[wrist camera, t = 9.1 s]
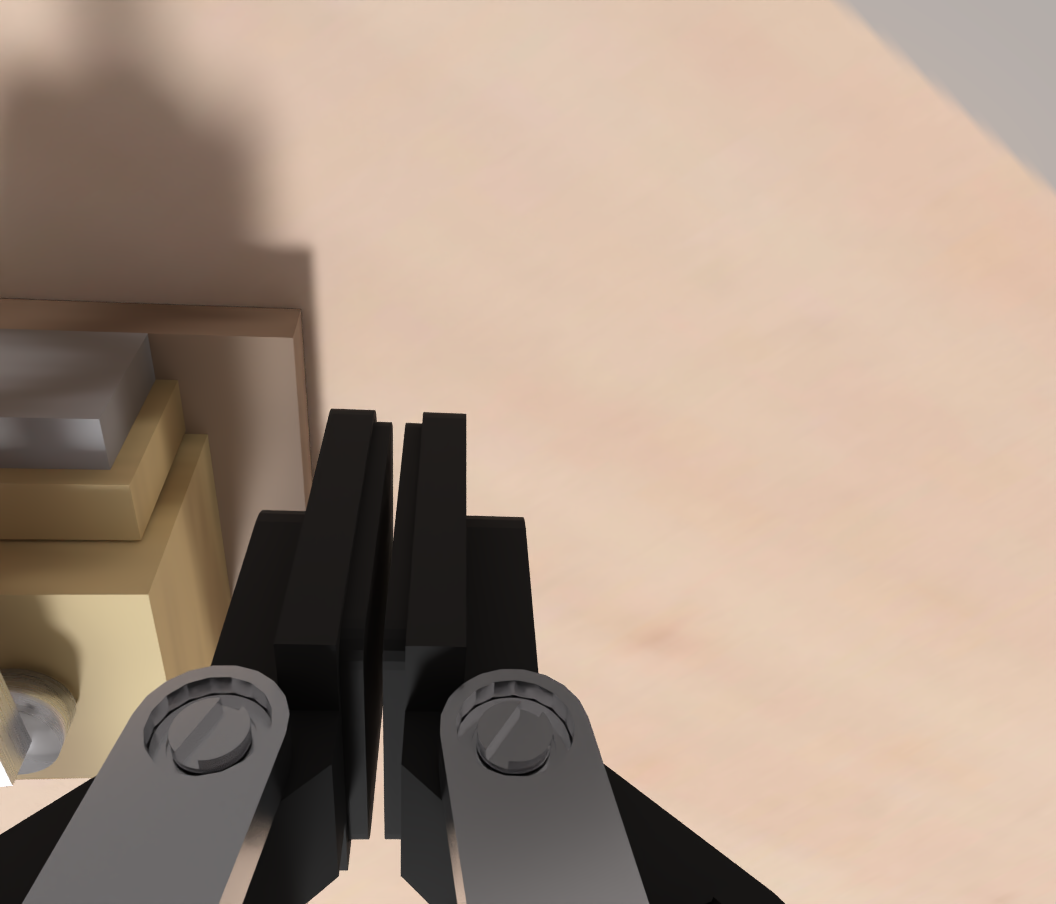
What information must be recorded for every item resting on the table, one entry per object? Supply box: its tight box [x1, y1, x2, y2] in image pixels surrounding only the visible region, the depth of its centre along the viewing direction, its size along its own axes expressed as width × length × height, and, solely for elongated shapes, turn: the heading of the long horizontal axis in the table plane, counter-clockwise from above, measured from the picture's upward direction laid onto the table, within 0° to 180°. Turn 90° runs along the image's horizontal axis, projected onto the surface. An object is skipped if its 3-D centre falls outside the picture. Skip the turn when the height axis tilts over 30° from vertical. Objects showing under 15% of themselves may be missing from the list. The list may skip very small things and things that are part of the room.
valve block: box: [0, 299, 312, 780], centre depth 22 cm, size 10×11×7 cm
